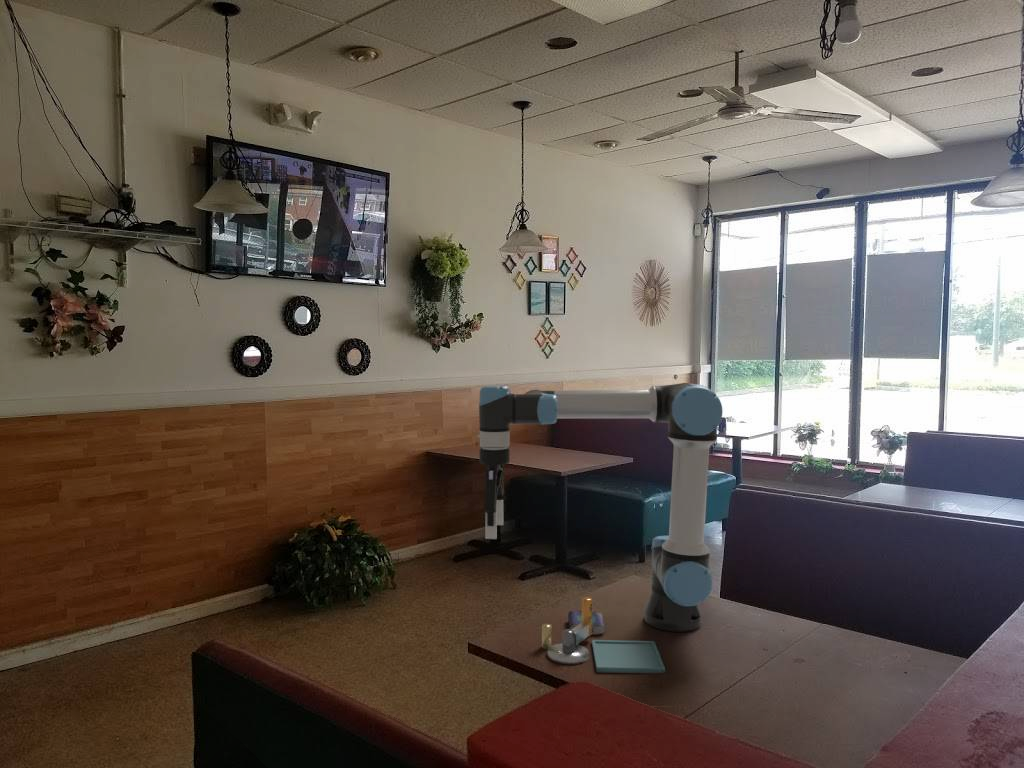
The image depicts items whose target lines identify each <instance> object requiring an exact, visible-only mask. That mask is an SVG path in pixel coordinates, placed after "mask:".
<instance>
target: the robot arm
mask: <svg viewBox="0 0 1024 768" xmlns="http://www.w3.org/2000/svg"><path fill="white" fill-rule="evenodd" d="M478 402H479V403H478V406H479V407H478V411H479V412H478V415H479V416H478V417H479V420H478V421H479V433H478V434H476V435H477V436H476V437H477V438H478V439H479V447H481V448H480V449H479V463H480V464H481V465H487V466H488V469H487V470H486V471H485V489H484V490H485V491H484V507H483V508H481V509H482V510H481V512H482V513H484V514H485V515H484V518H485V521H484V522H485V525H484V526H485V527H484V529H485V532H484V536H485V537H484V538H485V539H486V540H487V539H488V540H497V538H498V535H497V533H498V529H497V528H498V527H497V526H504V500H506V499H507V494H506V495H505V487H504V469H503V467H504V465H506V464H509V463H510V461H511V460H510V449H509V448H508V447H510V445H511V441H510V440H511V439H510V438H511V437H510V435H511V433H510V432H511V431H510V425H517V424H519V425H542V426H544V425H553V424H556V423H557V421H558V419H565V420H566V419H571V420H572V419H649V420H650V421H652V423H666V424H668V427H667V429H668V431H667V432H668V433H667V439H669V441H670V442H671V443H672V444H673V455H672V456H673V458H672V472H671V475H672V476H671V491H670V508H669V526H668V527H669V528H668V535H659V536H655V537H654V538H653V539H652V541H651V542H652V544H651V548H650V549H651V589H650V595H649V597H648V599H647V600H648V601H647V602H646V606H645V608H644V622H645V623H646V624H647V625H649V626H650V627H653V628H655V629H657V630H662V631H666V632H676V633H677V632H678V633H681V632H682V633H683V632H691V631H695V630H698V629H699V628H701V627H702V624H703V615H702V612H701V611H702V610H701V608H700V606H699V604H702V603H703V602H704V601H705V600H706V599H707V598H708V597H709V596H710V594H711V592H712V589H713V579H712V575H711V574H712V573H711V572H710V554H711V553H710V550H711V549H710V548H709V547H708V546H707V545H706V543H705V529H706V527H705V526H706V513H707V510H706V509H707V492H708V479H709V478H708V477H709V462H710V460H709V459H710V448H711V446H712V445H714V444H715V443H716V442H717V433H718V426H719V425H720V423H721V422H722V418H723V405H722V401H721V399H720V398H719V397H718V395H717V394H716V393H715V392H714V391H713V389H711V388H709V387H707V386H705V385H703V384H696V383H692V382H681V383H680V382H679V383H674V384H666V385H652V386H651V387H650V388H649V389H600V390H599V389H586V390H585V389H584V390H581V389H579V390H576V389H575V390H574V389H573V390H571V389H570V390H569V389H568V390H567V389H566V390H561V389H560V390H559V389H558V390H541V389H540V390H539V389H531V390H529V391H527V392H524V393H511V391H510V387H509V386H507V385H485V386H482V387H481V388H480V389H479V401H478Z"/></svg>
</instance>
